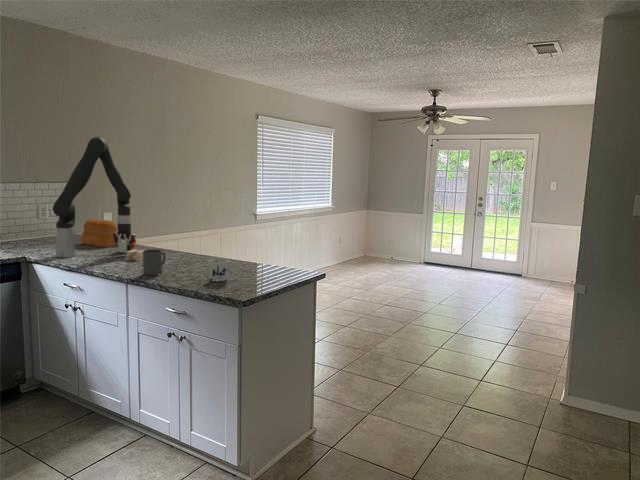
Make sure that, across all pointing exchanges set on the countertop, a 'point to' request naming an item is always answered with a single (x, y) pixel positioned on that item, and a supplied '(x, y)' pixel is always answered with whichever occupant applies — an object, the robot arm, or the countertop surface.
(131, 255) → the oak block
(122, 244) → the sage block
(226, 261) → the mug
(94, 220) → the bread
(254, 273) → the countertop surface
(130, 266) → the countertop surface
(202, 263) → the countertop surface
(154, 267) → the mug
